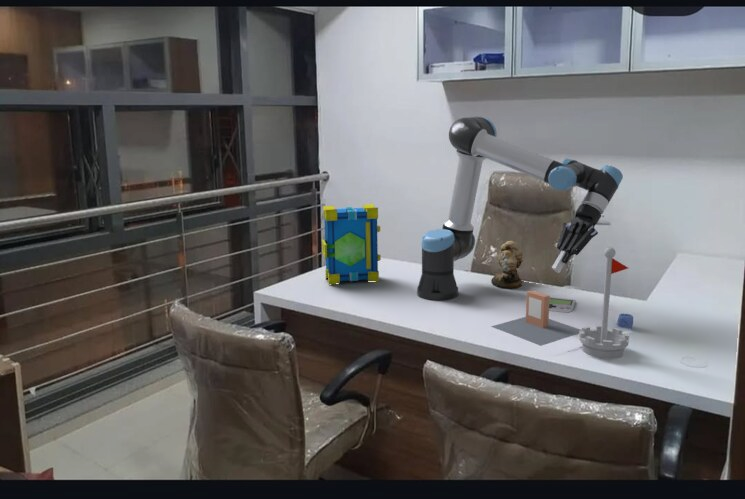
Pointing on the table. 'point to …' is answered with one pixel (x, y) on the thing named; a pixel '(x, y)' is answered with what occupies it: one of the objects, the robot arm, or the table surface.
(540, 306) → the card deck
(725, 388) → the table surface
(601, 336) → the flag stand
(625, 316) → the decorative dice
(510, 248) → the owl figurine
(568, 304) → the handheld gaming console
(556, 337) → the mat
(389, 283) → the table surface
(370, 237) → the decorative book
